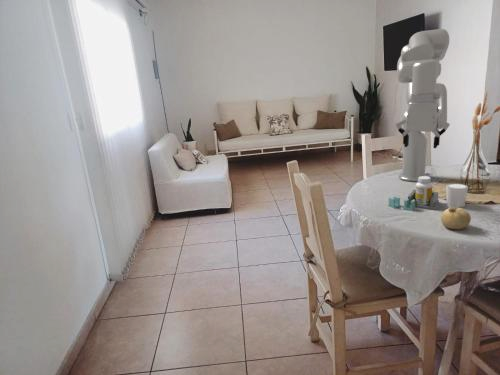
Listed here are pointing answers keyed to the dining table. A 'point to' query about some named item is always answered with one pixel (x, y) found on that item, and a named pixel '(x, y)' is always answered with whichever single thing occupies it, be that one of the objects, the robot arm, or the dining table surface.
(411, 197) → the holder
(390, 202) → the clip
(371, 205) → the dining table surface
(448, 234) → the dining table surface
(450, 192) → the white cup
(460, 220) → the onion
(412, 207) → the clip
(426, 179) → the supplement bottle
